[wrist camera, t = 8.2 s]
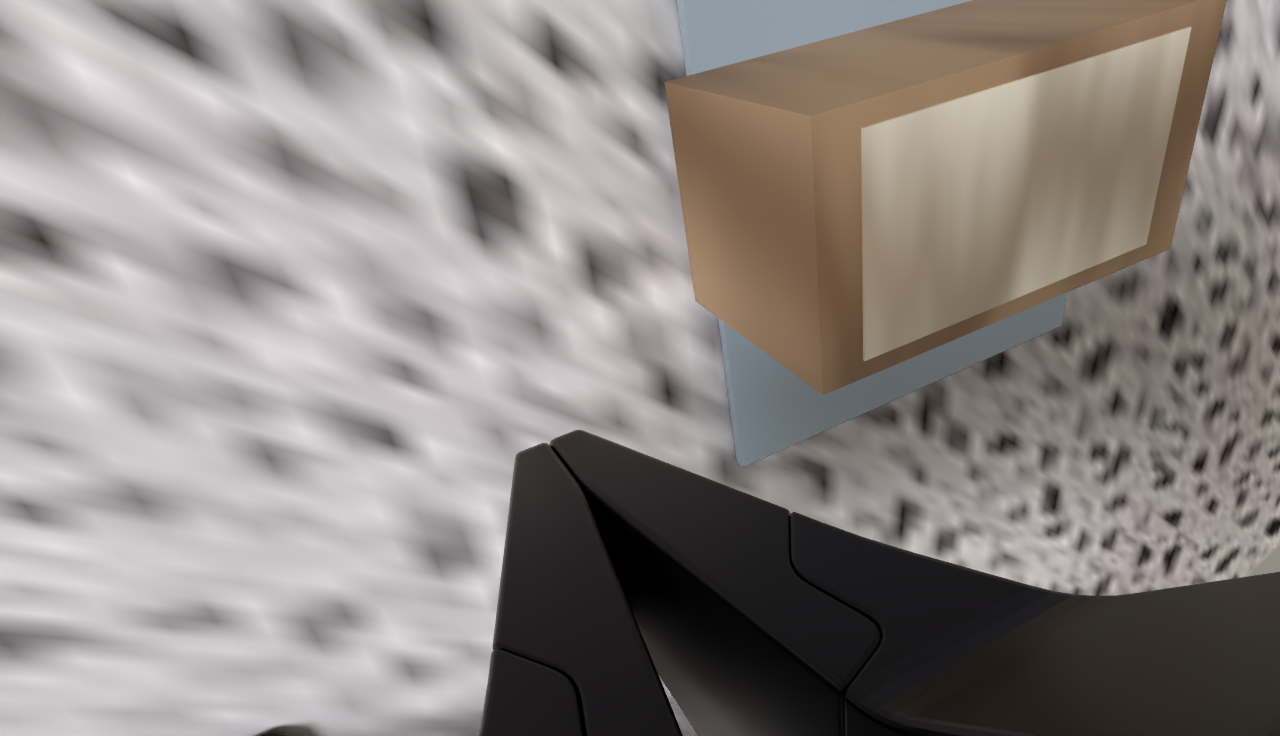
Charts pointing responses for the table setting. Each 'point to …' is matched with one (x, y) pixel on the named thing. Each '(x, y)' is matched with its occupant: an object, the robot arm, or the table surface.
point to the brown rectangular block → (935, 172)
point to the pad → (757, 384)
